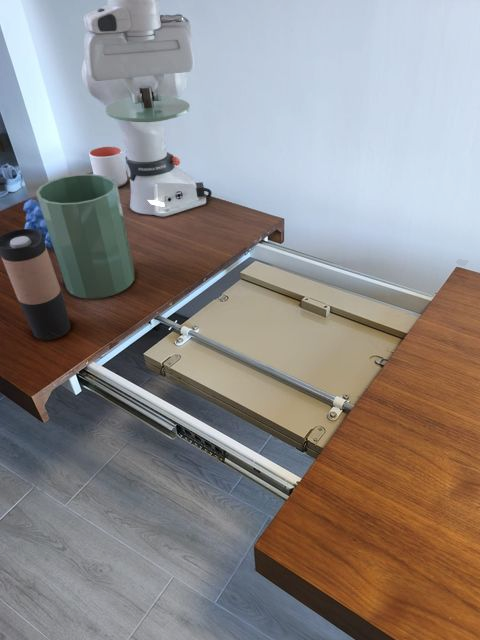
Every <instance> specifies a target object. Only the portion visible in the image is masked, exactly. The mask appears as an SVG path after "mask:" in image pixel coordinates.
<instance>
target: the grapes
mask: <svg viewBox="0 0 480 640" xmlns="http://www.w3.org/2000/svg"><path fill="white" fill-rule="evenodd" d="M22 210H23V211H24V212H25V221H26V222H25V224H24V229H34V230H37V231H39V232H40V233H41V234H42V236H43V239H44V242H45V245H46V248H48V249H51V250H54V249H53V246H52V243H51V239H50V236H49V233H48V230H47V227H46V224H45V221H44V218H43V214H42V211H41V208H40V205H39V202H38V200H35V199H32V198H29V199H28V200H27V201H25V202H24V204H23V209H22Z"/></svg>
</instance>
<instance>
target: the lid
mask: <svg viewBox="0 0 480 640" xmlns="http://www.w3.org/2000/svg"><path fill="white" fill-rule="evenodd" d="M139 90H140V93H141V94H142V98H141V99H142V101H143V102H142V103H137V104H135V103H134V102H133V98H129V99H124V100H120V101H116V102H114V103H111V104H109V105H108V106H107V107H106V106H105V113H106V115H107V116H108V117H109V118H112V119H115V120H116V119H118V120H124V121H131V122H157V121H159V122H163V121H168V120H171V119H176V118H179V117H181V116H185V115H186V114H188V113H189V111H190V110H191V105H190V103H189V102H187V100H184V99H181V98H172V97H161V101H153V94H152V87H151V86H140V87H139Z"/></svg>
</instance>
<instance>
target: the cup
mask: <svg viewBox="0 0 480 640" xmlns="http://www.w3.org/2000/svg"><path fill="white" fill-rule="evenodd" d="M88 156H89V160H90V165H91V169H92V174H95V175H102V176H106V177H109V178H111V179H113V180H114V181H115V182H116V184H117V187H118V188H119V187H122V186H124V185H125V184H126V183H127V182H128V173H127V168H126V162H125V158H124V152H123V150H122V148H121V147H117V146H101V147H97V148H93V149H91V150H90V151H89V152H88Z"/></svg>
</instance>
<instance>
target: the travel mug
mask: <svg viewBox="0 0 480 640" xmlns="http://www.w3.org/2000/svg"><path fill="white" fill-rule="evenodd" d="M47 248H48V247H47V246H46V245H45V242H44V239H43V236H42V234H41V233H40V232H39V231H37V230H34V229H25V228H20V229H19V228H18V229H14V230H11V231H7V232H6V233H4V234H2V235H0V257H1V261H2V262H3V263H2V264H3V265H4V269H5V270H6V273H7V275H8V278H9V280H10V284H11V285H12V289H13V291H14V293H15V296H16V299H17V301H18V303H19V305H20V307H21V310H22V311H23V314H24V316H25V318H26V320H27V321H26V322H27V323H28V325H29V327H30V330H31V331H32V334H33V336H34V337H35V338H37V339H39V340H42V341H50V340H55V339H58V338H61V337H63V336H64V335H66V334H67V333H68V332H69V331H70V329H71V321H70V317H69V314H68V310H67V307H66V304H65V301H64V296H63V293H62V289H61V286H60V285H59V281H58V278H57V275H56V272H55V269H54V266H53V262H52V260H51V257H50V254H49V251H48V249H47Z"/></svg>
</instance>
